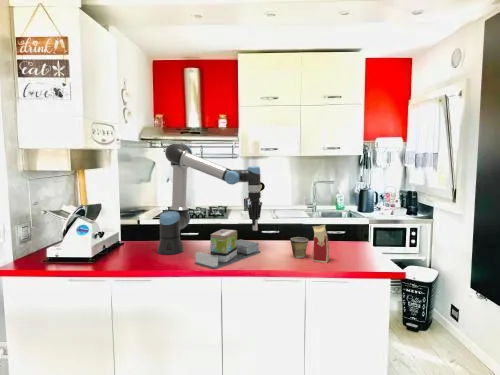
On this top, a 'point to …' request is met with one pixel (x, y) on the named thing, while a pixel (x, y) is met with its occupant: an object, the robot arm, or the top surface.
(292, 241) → the ceramic cup
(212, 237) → the tea box
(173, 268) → the top surface
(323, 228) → the paper coffee bag
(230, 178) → the robot arm
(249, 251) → the free jaw
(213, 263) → the vise
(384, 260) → the top surface
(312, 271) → the top surface
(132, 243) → the top surface
